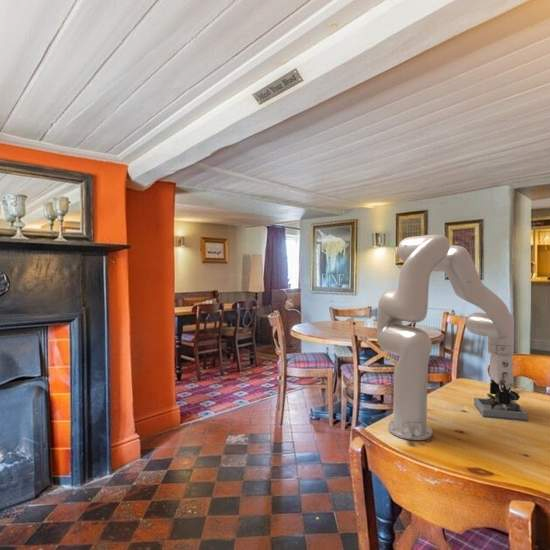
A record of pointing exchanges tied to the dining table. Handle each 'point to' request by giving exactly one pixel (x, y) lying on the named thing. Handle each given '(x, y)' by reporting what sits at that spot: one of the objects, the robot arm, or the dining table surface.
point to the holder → (500, 410)
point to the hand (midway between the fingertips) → (499, 398)
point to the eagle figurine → (495, 399)
